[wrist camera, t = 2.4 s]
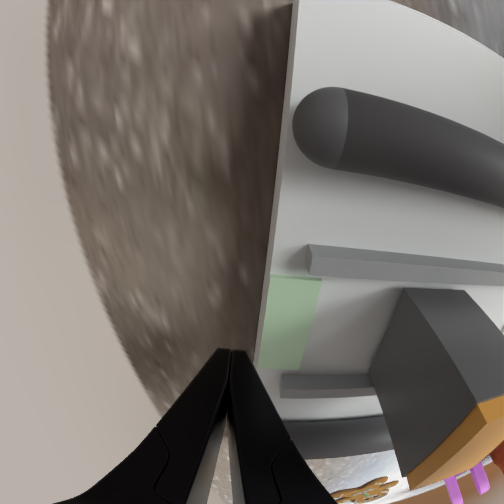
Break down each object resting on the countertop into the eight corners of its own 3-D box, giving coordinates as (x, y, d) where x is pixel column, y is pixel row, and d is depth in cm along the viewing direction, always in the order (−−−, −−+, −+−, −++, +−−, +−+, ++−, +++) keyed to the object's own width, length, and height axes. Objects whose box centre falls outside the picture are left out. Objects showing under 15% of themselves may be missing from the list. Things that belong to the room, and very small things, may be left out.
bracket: (474, 457, 25) (487, 491, 19) (442, 475, 26) (453, 510, 20) (483, 431, 20) (502, 475, 14) (442, 455, 22) (457, 501, 15)
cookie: (393, 476, 21) (403, 490, 25) (391, 470, 22) (402, 485, 26) (321, 499, 23) (346, 510, 27) (321, 493, 24) (345, 504, 27)
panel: (549, 114, 7) (602, 127, 4) (427, 419, 17) (443, 459, 13) (292, 2, 7) (312, -55, 3) (243, 432, 16) (241, 485, 13)
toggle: (464, 289, 9) (545, 393, 4) (426, 366, 11) (473, 468, 6) (403, 287, 9) (487, 421, 4) (368, 370, 11) (406, 492, 6)
